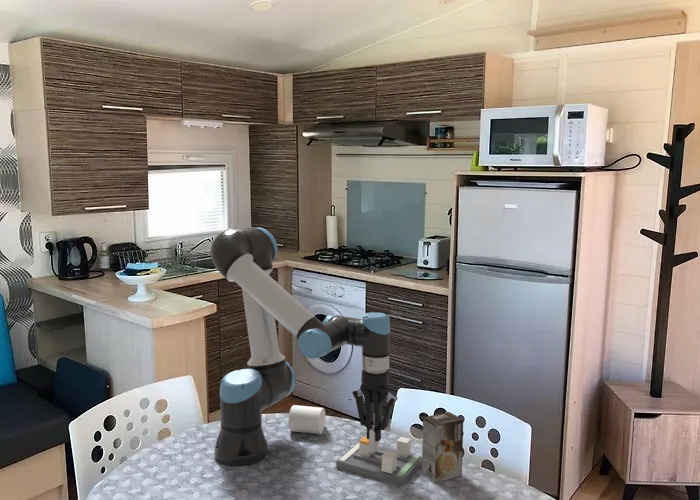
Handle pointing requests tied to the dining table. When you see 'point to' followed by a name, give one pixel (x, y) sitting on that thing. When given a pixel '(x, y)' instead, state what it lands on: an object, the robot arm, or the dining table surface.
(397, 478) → the panel
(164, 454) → the dining table surface
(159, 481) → the dining table surface
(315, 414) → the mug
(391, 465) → the block
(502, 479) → the dining table surface
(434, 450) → the brown tall rectangular box
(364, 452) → the block
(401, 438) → the block
